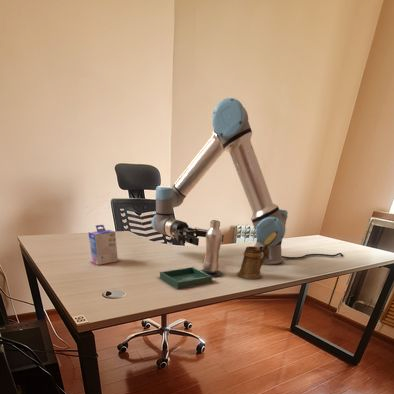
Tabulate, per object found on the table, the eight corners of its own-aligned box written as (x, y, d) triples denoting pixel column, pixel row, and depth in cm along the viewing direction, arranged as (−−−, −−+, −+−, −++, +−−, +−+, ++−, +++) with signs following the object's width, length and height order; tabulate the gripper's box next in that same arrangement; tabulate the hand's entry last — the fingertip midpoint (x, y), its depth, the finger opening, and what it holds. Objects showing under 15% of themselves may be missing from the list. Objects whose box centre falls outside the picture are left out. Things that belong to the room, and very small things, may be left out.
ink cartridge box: (111, 258, 134) (108, 223, 126) (118, 261, 131) (116, 225, 123) (91, 262, 128) (86, 225, 120) (98, 265, 125) (94, 228, 117)
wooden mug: (273, 279, 125) (283, 233, 115) (242, 279, 122) (249, 232, 113) (265, 272, 132) (273, 228, 122) (235, 271, 130) (242, 227, 120)
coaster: (212, 268, 131) (212, 268, 131) (226, 275, 125) (226, 274, 125) (195, 271, 126) (195, 270, 126) (208, 278, 120) (209, 277, 120)
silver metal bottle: (201, 269, 128) (205, 218, 117) (217, 270, 128) (222, 219, 118) (203, 274, 122) (207, 222, 112) (219, 275, 123) (225, 223, 112)
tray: (192, 272, 125) (192, 266, 124) (211, 282, 117) (212, 276, 116) (159, 278, 117) (159, 272, 116) (177, 289, 109) (177, 282, 107)
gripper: (198, 235, 142) (231, 246, 129) (153, 241, 127) (186, 253, 114) (199, 218, 138) (233, 227, 125) (153, 222, 123) (187, 233, 110)
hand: (210, 240), depth 120 cm, fingers open, 13 cm apart
